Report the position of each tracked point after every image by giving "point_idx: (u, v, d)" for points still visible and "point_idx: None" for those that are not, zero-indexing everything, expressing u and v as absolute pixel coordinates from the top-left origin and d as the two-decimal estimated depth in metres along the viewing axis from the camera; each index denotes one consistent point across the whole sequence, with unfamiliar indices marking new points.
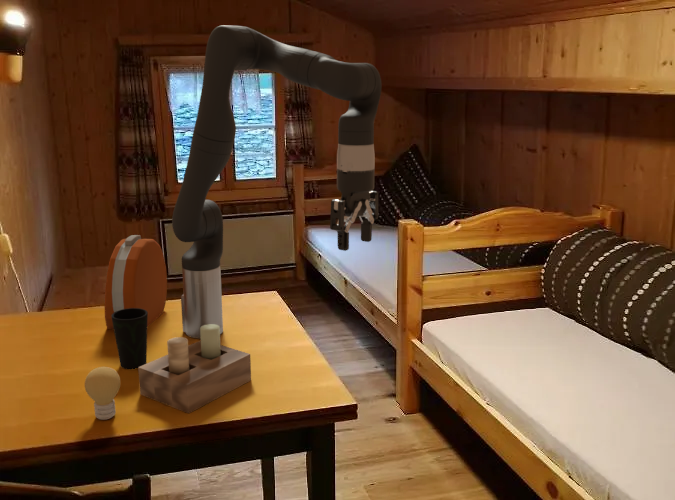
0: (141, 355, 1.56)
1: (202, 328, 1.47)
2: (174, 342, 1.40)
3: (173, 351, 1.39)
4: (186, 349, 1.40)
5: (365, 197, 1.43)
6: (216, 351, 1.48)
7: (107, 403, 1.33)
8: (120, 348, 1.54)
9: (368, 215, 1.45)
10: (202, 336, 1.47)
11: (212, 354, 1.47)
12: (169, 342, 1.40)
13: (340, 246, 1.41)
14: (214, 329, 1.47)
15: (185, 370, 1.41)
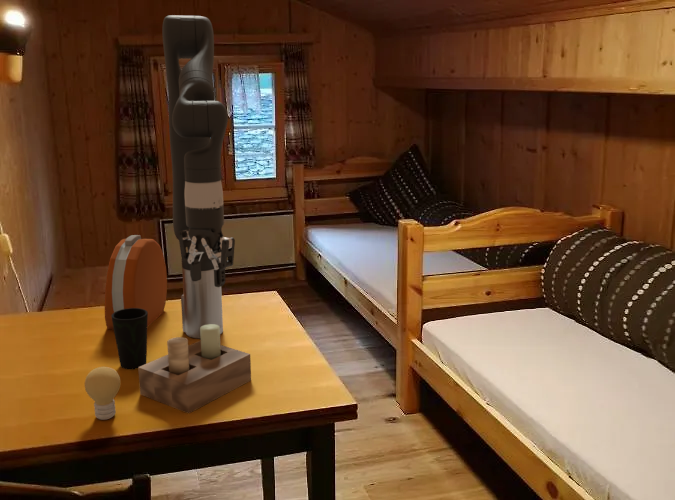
0: (141, 355, 1.56)
1: (202, 328, 1.47)
2: (174, 342, 1.40)
3: (173, 351, 1.39)
4: (186, 349, 1.40)
5: None
6: (216, 351, 1.48)
7: (107, 403, 1.33)
8: (120, 348, 1.54)
9: None
10: (202, 336, 1.47)
11: (212, 354, 1.47)
12: (169, 342, 1.40)
13: (222, 282, 1.43)
14: (214, 329, 1.47)
15: (185, 370, 1.41)
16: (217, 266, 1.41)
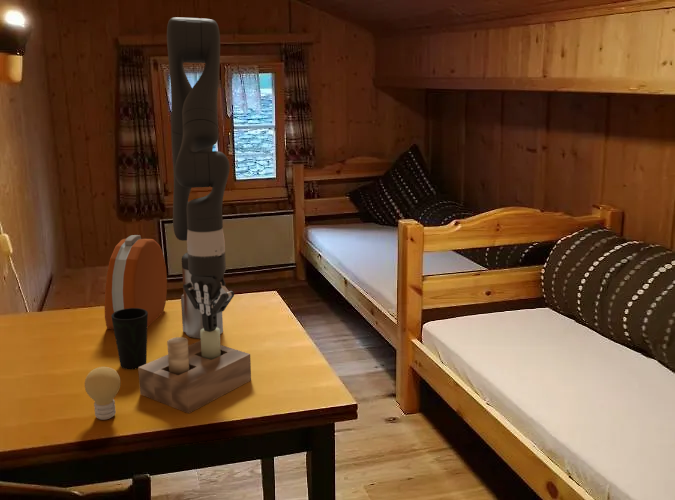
0: (141, 355, 1.56)
1: (202, 331, 1.47)
2: (174, 342, 1.40)
3: (173, 351, 1.39)
4: (186, 349, 1.40)
5: None
6: (216, 353, 1.48)
7: (107, 403, 1.33)
8: (120, 348, 1.54)
9: None
10: (202, 339, 1.47)
11: (212, 356, 1.47)
12: (169, 342, 1.40)
13: (214, 327, 1.47)
14: (214, 332, 1.47)
15: (185, 370, 1.41)
16: (209, 312, 1.45)
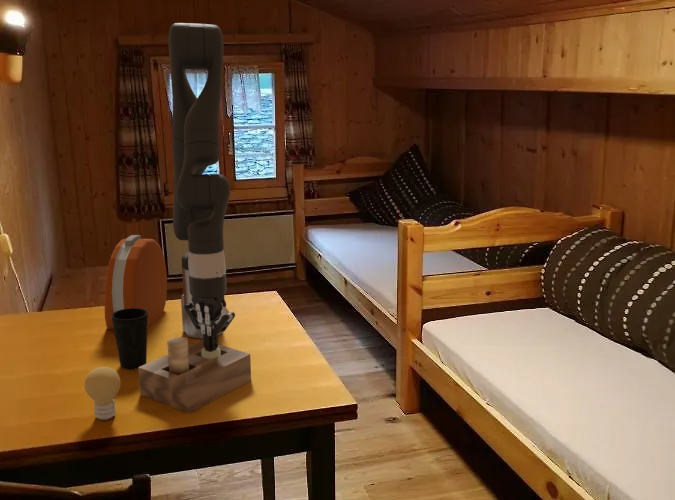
0: (141, 355, 1.56)
1: (203, 350, 1.49)
2: (174, 342, 1.40)
3: (173, 351, 1.39)
4: (186, 349, 1.40)
5: None
6: None
7: (107, 403, 1.33)
8: (120, 348, 1.54)
9: None
10: None
11: None
12: (169, 342, 1.40)
13: (215, 347, 1.48)
14: (215, 351, 1.48)
15: (185, 370, 1.41)
16: (210, 332, 1.46)
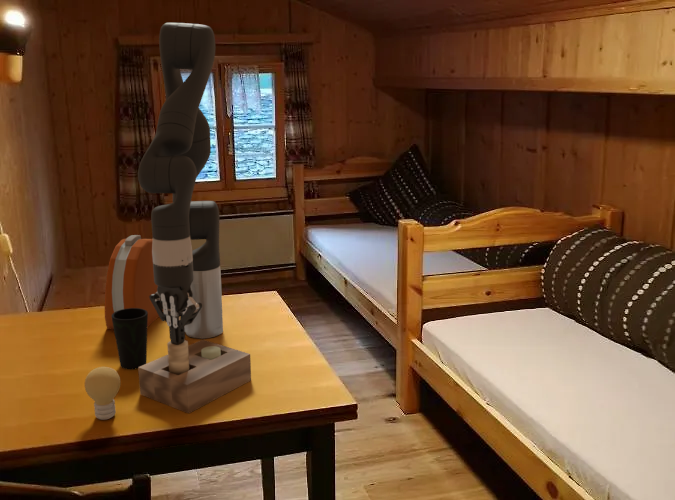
0: (141, 355, 1.56)
1: (203, 350, 1.49)
2: (174, 344, 1.40)
3: (173, 354, 1.39)
4: (186, 351, 1.40)
5: None
6: None
7: (107, 403, 1.33)
8: (120, 348, 1.54)
9: None
10: None
11: None
12: (169, 344, 1.40)
13: (181, 340, 1.40)
14: (215, 351, 1.48)
15: None
16: (176, 324, 1.38)
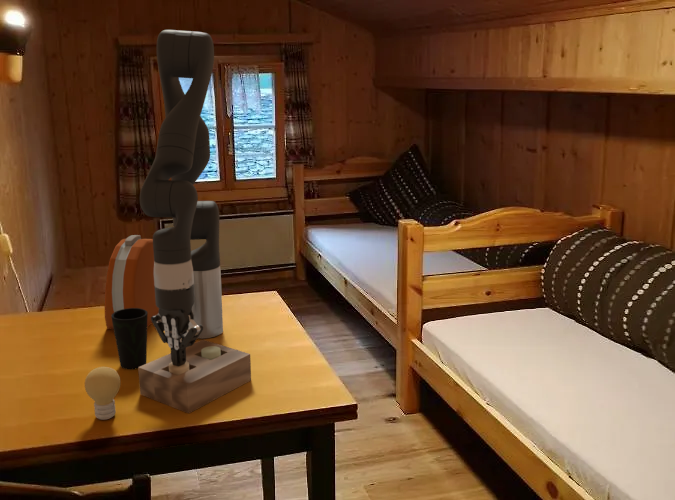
0: (141, 355, 1.56)
1: (203, 350, 1.49)
2: None
3: None
4: None
5: None
6: None
7: (107, 403, 1.33)
8: (120, 348, 1.54)
9: None
10: None
11: None
12: (170, 365, 1.41)
13: (183, 362, 1.41)
14: (215, 351, 1.48)
15: None
16: (177, 346, 1.39)
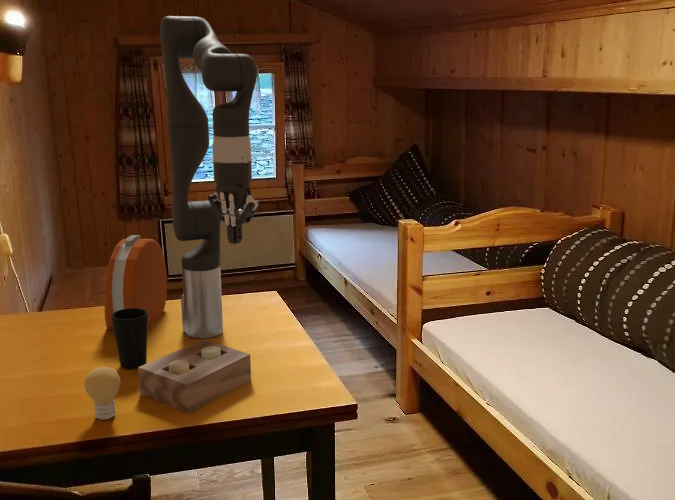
0: (141, 355, 1.56)
1: (203, 350, 1.49)
2: (176, 365, 1.41)
3: None
4: None
5: None
6: None
7: (107, 403, 1.33)
8: (120, 348, 1.54)
9: None
10: None
11: None
12: (170, 365, 1.41)
13: (239, 239, 1.44)
14: (215, 351, 1.48)
15: None
16: (234, 223, 1.42)
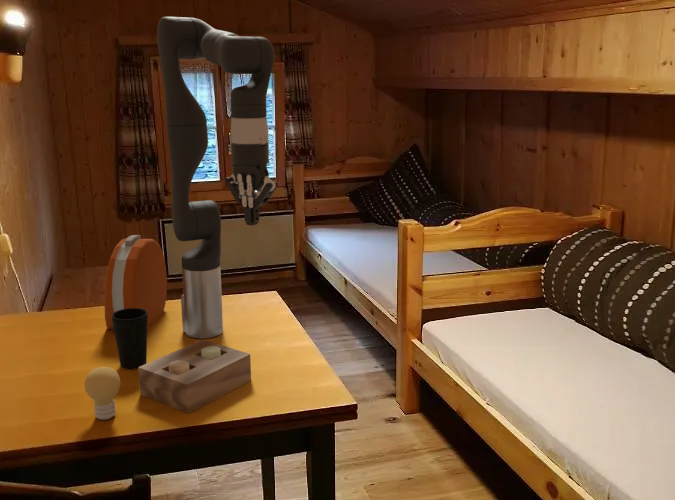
0: (141, 355, 1.56)
1: (203, 350, 1.49)
2: (176, 365, 1.41)
3: None
4: None
5: None
6: None
7: (107, 403, 1.33)
8: (120, 348, 1.55)
9: None
10: None
11: None
12: (170, 365, 1.41)
13: (256, 221, 1.45)
14: (215, 351, 1.48)
15: None
16: (251, 204, 1.44)
